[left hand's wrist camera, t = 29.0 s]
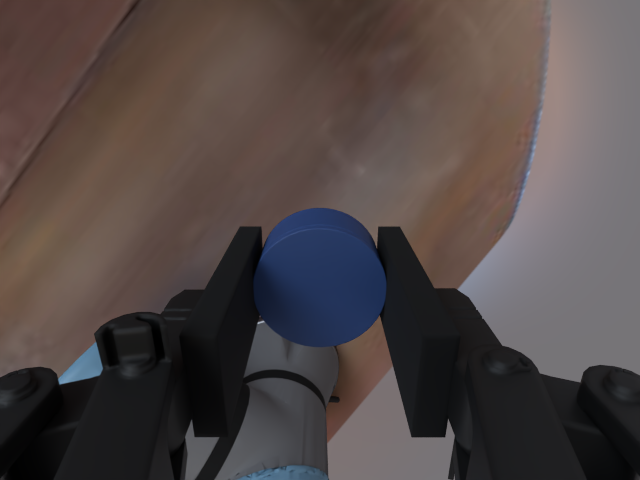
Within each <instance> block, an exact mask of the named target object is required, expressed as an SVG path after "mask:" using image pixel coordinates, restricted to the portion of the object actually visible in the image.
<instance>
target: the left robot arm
mask: <svg viewBox="0 0 640 480" xmlns="http://www.w3.org/2000/svg"><path fill="white" fill-rule="evenodd" d="M262 250H263V247H262V229H261V227H240V228H239V229H238V231H237V233H236V235H235V236H234V238H233V240H232V242H231V244H230V245H229V247H228V249H227V251H226V252H225V254H224V256H223V258H222V260H221V261H220V263H219V265H218V267H217V269H216V270H215V272H214V274H213V276H212V277H211V279H210V281H209V283H208V285H207V286H206V288H205V290H184V291H182V292H181V293H179V294H178V295H176V296H175V297H173V298H172V299H171V300H170V301H169V303H168V304H167V306H166V307H165V309H164V311H163V312H162V313H161V314H156V313H152V312H136V313H131V314H126V315H123V316H120V317H117V318H115V319H112V320H110V321H109V322H107V323H105V324H104V325H102V326H101V327H100V328H99V329H98V330H97V331H96V332H95V334H94V335H95V339H96V342H95V343H94V344H93V345H92V346H91V347H90V348H89V349H88V350H87V351H86V352H85V353H83V354H82V355H81V356H80V357H79V358H78V359H77V360H76V361H75V362H74V363H73V364H72V365H71V366H70V367H69V368H68V369H67V370H66V371H65V373H64V374H63V375H62V376H61V377H60V378H59V379H58V377H57V374H56V373H55V372H54V371H53V370H52V369H49V368H44V367H33V368H25V369H21V370H18V371H14V372H11V373H8V374H7V375H5V376H2V377H0V480H329V478H328V458H327V428H326V407H327V404H328V402H337V403H338V402H339V401H340V399H339V397H335V396H331V394H332V393H333V390H334V388H335V386H336V383H337V379H338V373H339V361H338V353H337V350H336V347H335V346H331V347H309V346H304V345H300V344H296V343H294V342H291V341H289V340H287V339H285V338H283V337H281V336H280V335H278V334H277V333H275V332H274V331H273V330H272V329H271V328H270V327H269V326H268V325H267V324H266V323H265V322H264V320H263V319H262V317H261V318H259V316H260V314H259V312H258V310H257V308H256V305H255V302H254V288H253V277H254V273H255V270H256V267H257V264H258V261H259V258H260V255H261V253H262ZM377 251H378V254H379V257H380V260H381V263H382V266H383V269H384V271H385V275H386V280H387V284H386V299H385V304H384V307H383V309H382V311H381V313H380V317H381V321H382V325H383V329H384V333H385V337H386V340H387V344H388V348H389V352H390V356H391V360H392V363H393V367H394V371H395V375H396V379H397V383H398V387H399V390H400V394H401V398H402V402H403V406H404V410H405V414H406V417H407V421H408V425H409V429H410V433H411V437H445V435H446V429H447V422H448V419H449V421H450V424H451V427H452V429H453V432H454V434H455V439H454V445H453V451H452V457H451V463H450V469H449V476H448V479H451V480H453V479H454V473H455V480H640V375H638V374H635V373H634V372H632V371H629V370H626V369H622V368H619V367H615V366H605V365H598V366H592V367H589V368H588V369H587V370H585V371H584V373H583V376H582V379H581V383H579V382H575V381H570V380H565V379H560V378H556V377H551V376H547V375H544V374H540V373H539V371H538V369H537V367H536V366H535V365H534V363H533V362H532V361H531V360H530V359H529V358H528V357H526V356H525V355H524V354H522V353H521V352H518V351H516V350H514V349H511V348H509V347H505V346H502V345H501V343H500V342H499V340H498V339H497V338H496V336H495V335H494V333H493V332H492V330H491V329H490V327H489V326H488V325H487V323H486V322H485V320H484V319H482V316H481V315H480V313H479V312H478V310H476V307H475V306H474V304H473V303H472V302H471V300H470V299H469V297H467V296H466V295H464V294H463V293H461V292H460V291H458V290H457V289H455V288H434V287H433V285H432V283H431V282H430V280H429V278H428V276H427V274H426V273H425V271H424V269H423V267H422V265H421V264H420V262H419V260H418V258H417V257H416V255H415V253H414V251H413V249H412V248H411V246H410V244H409V242H408V241H407V239H406V237H405V235H404V233H403V232H402V230H401V228H400V227H378V242H377Z"/></svg>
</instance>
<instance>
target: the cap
mask: <svg viewBox="0 0 640 480" xmlns="http://www.w3.org/2000/svg"><path fill="white" fill-rule="evenodd" d="M386 284H387V280H386V275H385V271H384V269H383V266H382V263H381V260H380V257H379V254H378V251H377V248H376V245H375V242H374V240H373V238H372V236H371V235H370V233H369V232H368V230H367V229H366V228H365V227H364V226H363V225H362V224H361V223H360V222H359V221H357V220H356V219H355V218H353V217H351V216H350V215H348V214H345V213H343V212H340V211H337V210H333V209H327V208H313V209H306V210H302V211H299V212H297V213H294V214H292V215H290V216H288V217H287V218H285V219H284V220H282V221H281V222H280V223H279V224H278V225H277V226H276V227H275V228H274V229H273V230H272V231H271V233H270V234H269V236H268V238H267V240H266V242H265V244H264V247H263V250H262V253H261V255H260V258H259V261H258V264H257V267H256V270H255V273H254V277H253V288H254V302H255V305H256V308H257V310H258V312H259V314H260V316H261V317H262V319H263V320H264V322H265V323H266V324H267V325H268V326H269V327H270V328H271V329H272V330H273V331H274V332H275V333H277V334H278V335H280V336H281V337H283V338H285V339H287V340H289V341H291V342H294V343H296V344H300V345H304V346H309V347H331V346H336V345H340V344H343V343H346V342H349V341H351V340H353V339H355V338H357V337H358V336H360V335H361V334H363V333H364V332H365V331H367V330H368V329H369V328H370V327H371V326H372V325H373V323H374V322H375V321H376V320H377V318H378V317H379V315H380V313H381V311H382V309H383V307H384V304H385V299H386Z"/></svg>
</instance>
